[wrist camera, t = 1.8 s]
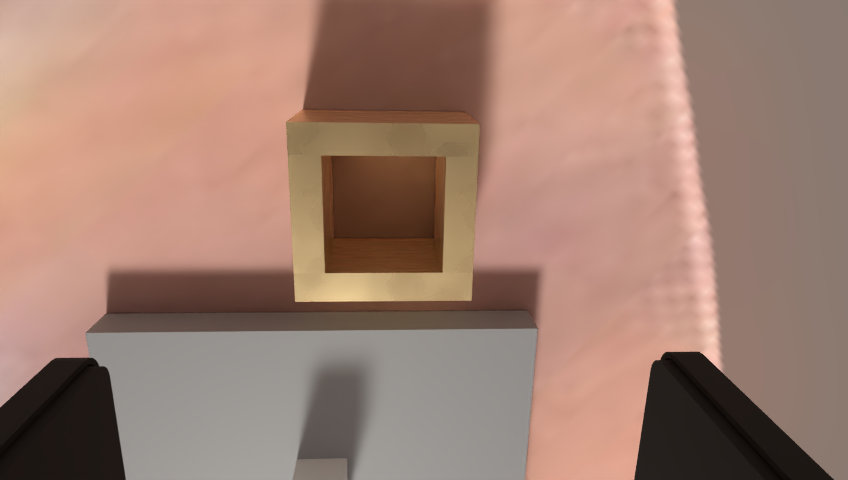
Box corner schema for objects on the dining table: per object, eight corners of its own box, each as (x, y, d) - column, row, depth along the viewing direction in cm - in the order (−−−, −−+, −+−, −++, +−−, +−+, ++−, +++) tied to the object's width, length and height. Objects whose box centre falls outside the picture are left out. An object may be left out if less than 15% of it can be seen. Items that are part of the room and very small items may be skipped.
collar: (302, 109, 26) (286, 121, 21) (464, 111, 26) (480, 124, 22) (309, 262, 28) (295, 301, 24) (458, 262, 28) (471, 300, 24)
